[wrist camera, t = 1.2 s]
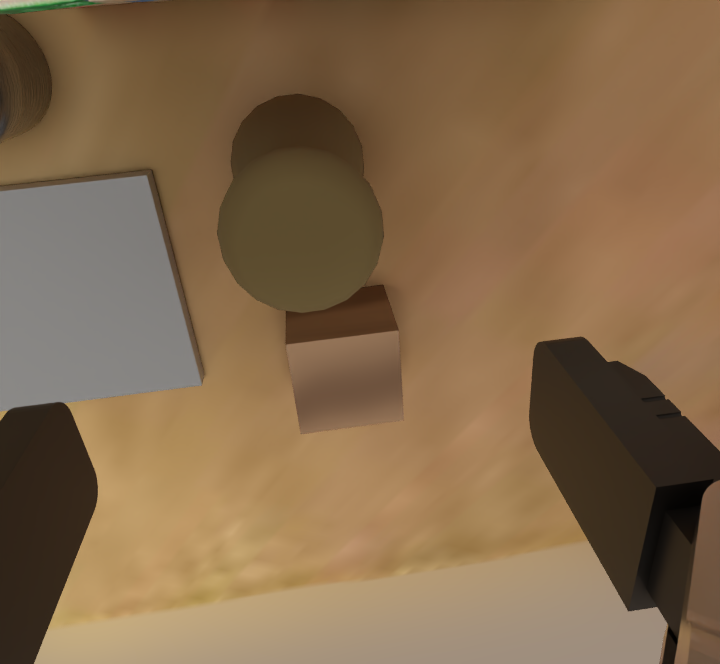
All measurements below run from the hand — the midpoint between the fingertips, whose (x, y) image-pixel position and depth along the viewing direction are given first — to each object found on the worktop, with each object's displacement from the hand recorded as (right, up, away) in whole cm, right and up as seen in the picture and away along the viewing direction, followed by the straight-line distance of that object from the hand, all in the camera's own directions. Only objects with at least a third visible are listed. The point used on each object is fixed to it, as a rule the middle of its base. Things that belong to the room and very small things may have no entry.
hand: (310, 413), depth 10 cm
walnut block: (0, +1, +21) cm, 21 cm away
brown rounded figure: (-2, +9, +17) cm, 19 cm away
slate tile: (-13, +3, +18) cm, 23 cm away
